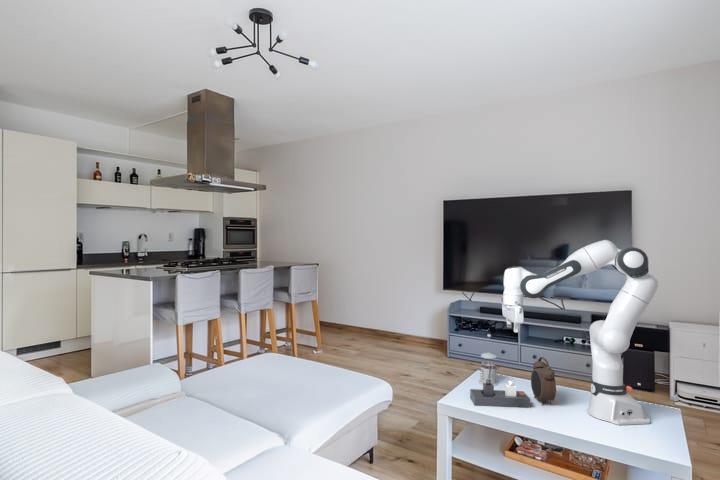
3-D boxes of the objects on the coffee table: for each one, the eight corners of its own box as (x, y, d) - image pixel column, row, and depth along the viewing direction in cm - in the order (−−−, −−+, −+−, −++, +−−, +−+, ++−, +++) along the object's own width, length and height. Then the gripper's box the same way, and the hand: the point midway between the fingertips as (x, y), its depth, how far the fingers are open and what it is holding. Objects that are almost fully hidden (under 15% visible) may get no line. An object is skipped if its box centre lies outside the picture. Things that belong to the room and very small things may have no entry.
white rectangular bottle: (513, 402, 185) (514, 380, 185) (516, 404, 182) (516, 382, 182) (504, 401, 185) (505, 379, 185) (507, 404, 182) (507, 382, 182)
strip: (523, 400, 188) (523, 390, 188) (530, 407, 179) (530, 397, 179) (470, 397, 189) (470, 387, 189) (474, 405, 180) (474, 395, 180)
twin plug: (491, 401, 186) (492, 379, 186) (493, 403, 183) (493, 381, 183) (482, 400, 186) (483, 378, 186) (484, 403, 183) (484, 381, 183)
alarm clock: (528, 395, 193) (528, 353, 193) (543, 396, 193) (544, 353, 193) (540, 408, 179) (541, 362, 179) (557, 408, 178) (558, 363, 178)
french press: (496, 380, 214) (497, 332, 214) (500, 388, 203) (501, 337, 203) (476, 379, 216) (477, 331, 216) (480, 386, 204) (481, 336, 204)
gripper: (527, 304, 182) (527, 335, 182) (512, 297, 202) (512, 325, 202) (513, 303, 182) (512, 334, 182) (500, 297, 203) (499, 325, 203)
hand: (512, 329), depth 192 cm, fingers open, 8 cm apart
